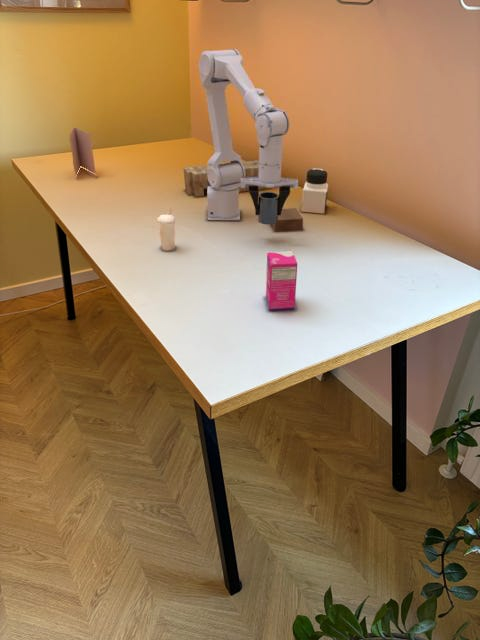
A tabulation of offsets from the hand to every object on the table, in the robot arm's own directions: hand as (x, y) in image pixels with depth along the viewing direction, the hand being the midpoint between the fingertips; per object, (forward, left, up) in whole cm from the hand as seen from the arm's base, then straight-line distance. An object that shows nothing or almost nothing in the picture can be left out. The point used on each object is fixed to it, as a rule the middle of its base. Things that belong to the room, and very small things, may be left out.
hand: (267, 213), depth 137 cm
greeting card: (-61, +54, -8) cm, 82 cm away
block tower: (-10, +40, -8) cm, 42 cm away
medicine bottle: (+16, +23, -8) cm, 29 cm away
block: (+6, +10, -8) cm, 14 cm away
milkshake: (-26, -5, -8) cm, 28 cm away
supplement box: (+1, -33, -8) cm, 34 cm away
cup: (0, 0, -2) cm, 2 cm away
